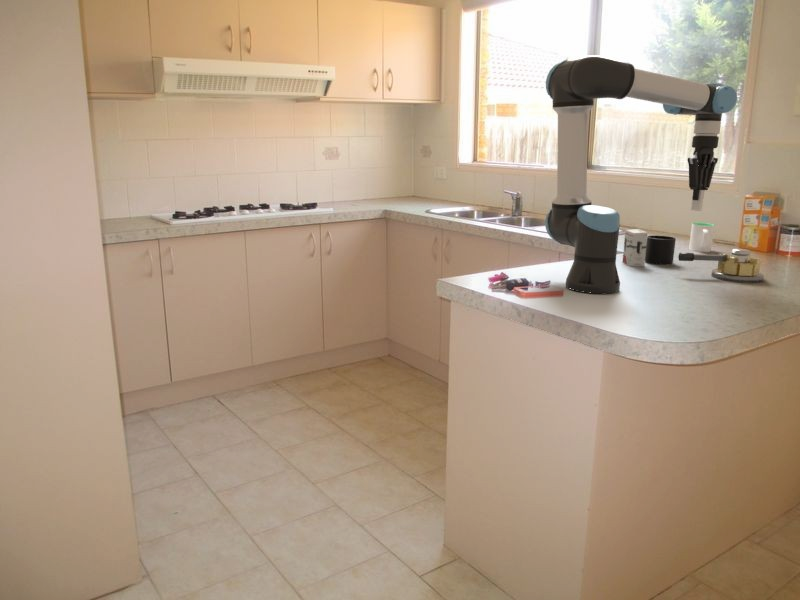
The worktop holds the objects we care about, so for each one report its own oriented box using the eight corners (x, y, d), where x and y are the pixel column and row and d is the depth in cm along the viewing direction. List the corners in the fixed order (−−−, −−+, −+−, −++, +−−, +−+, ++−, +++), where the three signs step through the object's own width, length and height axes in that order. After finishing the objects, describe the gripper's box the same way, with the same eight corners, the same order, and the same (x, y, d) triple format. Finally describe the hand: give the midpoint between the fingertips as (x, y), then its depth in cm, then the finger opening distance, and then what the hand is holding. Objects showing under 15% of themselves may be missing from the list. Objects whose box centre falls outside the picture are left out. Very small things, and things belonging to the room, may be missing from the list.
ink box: (621, 261, 237) (625, 228, 234) (635, 262, 237) (638, 229, 234) (630, 266, 229) (634, 232, 226) (644, 266, 229) (648, 232, 226)
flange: (733, 283, 204) (737, 254, 202) (701, 273, 218) (704, 246, 216) (774, 281, 208) (779, 253, 205) (740, 272, 222) (744, 245, 220)
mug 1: (652, 258, 245) (655, 233, 243) (678, 264, 235) (681, 238, 233) (633, 259, 241) (636, 235, 239) (659, 265, 231) (662, 239, 229)
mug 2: (716, 254, 257) (719, 227, 255) (694, 253, 258) (697, 226, 256) (707, 249, 269) (711, 223, 266) (686, 248, 270) (689, 222, 267)
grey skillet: (764, 276, 207) (766, 258, 205) (683, 273, 209) (686, 255, 207) (748, 269, 218) (751, 252, 216) (672, 266, 220) (674, 249, 218)
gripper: (707, 135, 216) (697, 208, 221) (682, 134, 209) (673, 209, 214) (729, 135, 210) (718, 210, 215) (704, 134, 203) (694, 212, 208)
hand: (696, 210), depth 215 cm, fingers closed
